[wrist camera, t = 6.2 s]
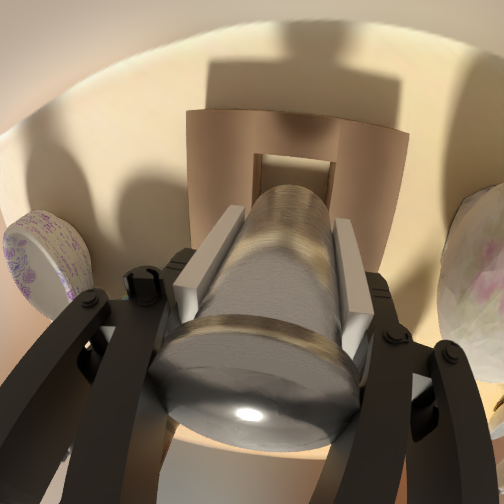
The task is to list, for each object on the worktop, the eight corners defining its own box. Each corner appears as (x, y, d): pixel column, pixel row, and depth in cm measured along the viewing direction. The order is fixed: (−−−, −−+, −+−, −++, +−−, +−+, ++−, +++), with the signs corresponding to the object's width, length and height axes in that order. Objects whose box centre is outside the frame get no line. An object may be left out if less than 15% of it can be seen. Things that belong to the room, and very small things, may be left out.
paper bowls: (122, 295, 35) (91, 334, 28) (60, 288, 38) (33, 317, 32) (84, 191, 28) (37, 219, 21) (27, 206, 31) (-9, 230, 24)
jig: (207, 250, 28) (193, 272, 25) (205, 109, 21) (185, 110, 18) (363, 270, 26) (370, 296, 22) (393, 128, 19) (409, 133, 15)
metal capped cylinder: (242, 257, 17) (169, 429, 7) (244, 172, 14) (118, 324, 5) (328, 269, 16) (326, 457, 7) (344, 184, 13) (400, 371, 4)
